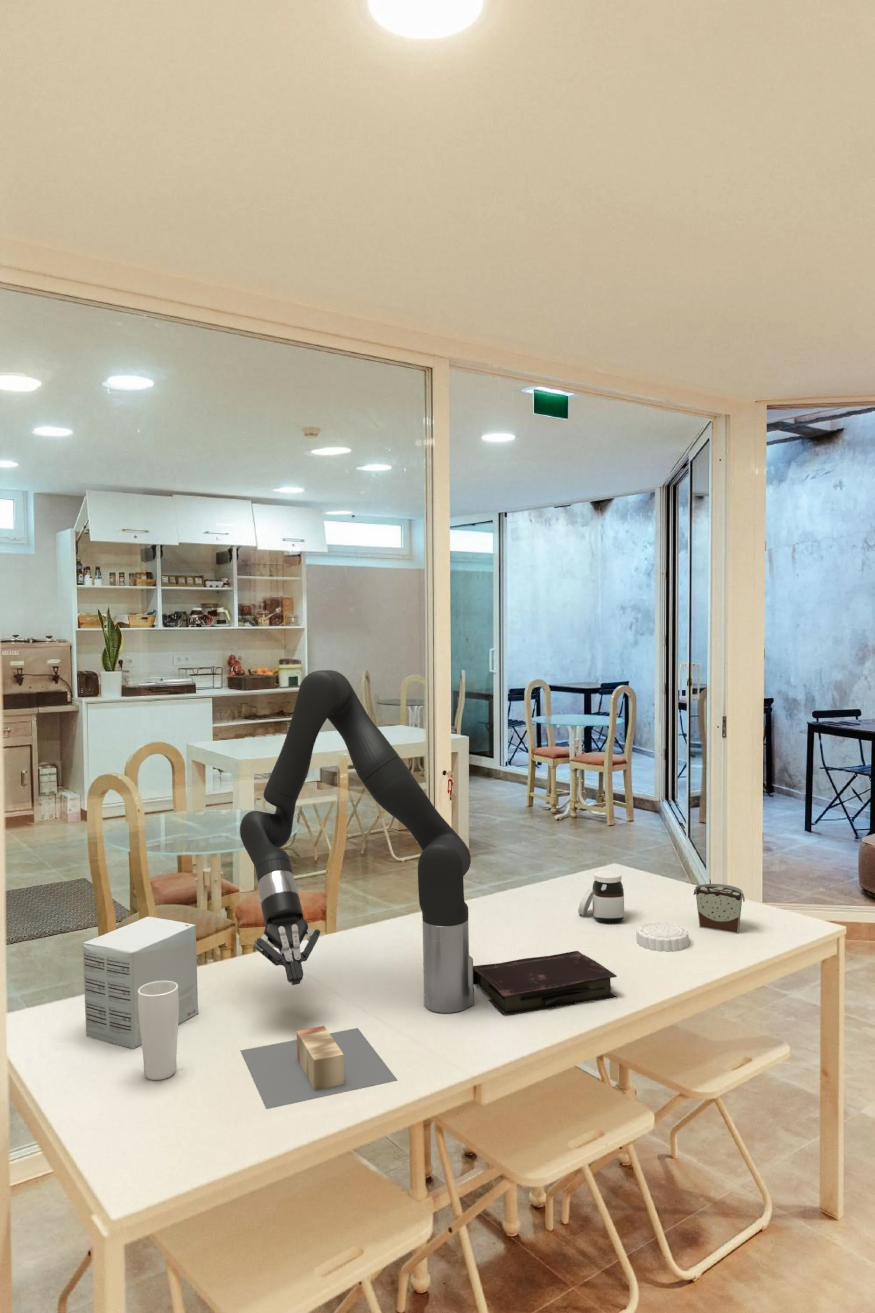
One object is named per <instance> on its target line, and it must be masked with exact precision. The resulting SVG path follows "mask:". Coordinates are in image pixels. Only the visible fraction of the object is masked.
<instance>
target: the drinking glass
mask: <svg viewBox="0 0 875 1313" xmlns="http://www.w3.org/2000/svg"><path fill="white" fill-rule="evenodd" d="M138 1018H139V1027H140V1035H141V1043H142V1044H141V1049H142V1050H141V1051H142V1059H143V1074H144V1076H145V1078H146V1079H148V1080H151V1081H161V1080H165V1079H168V1078H170V1077H171V1076H173V1075H174V1074H175V1073H176V1071H177V1069H178V1068H177V1067H178V1065H177V1054H178V1036H179V1035H178V1033H179V1024H178V1021H179V992H178V985H177V984H176V983H175V982H172V981H155V982H151V983H148V984H145V985H143V986H141V987H140V988H139V989H138Z"/></svg>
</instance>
